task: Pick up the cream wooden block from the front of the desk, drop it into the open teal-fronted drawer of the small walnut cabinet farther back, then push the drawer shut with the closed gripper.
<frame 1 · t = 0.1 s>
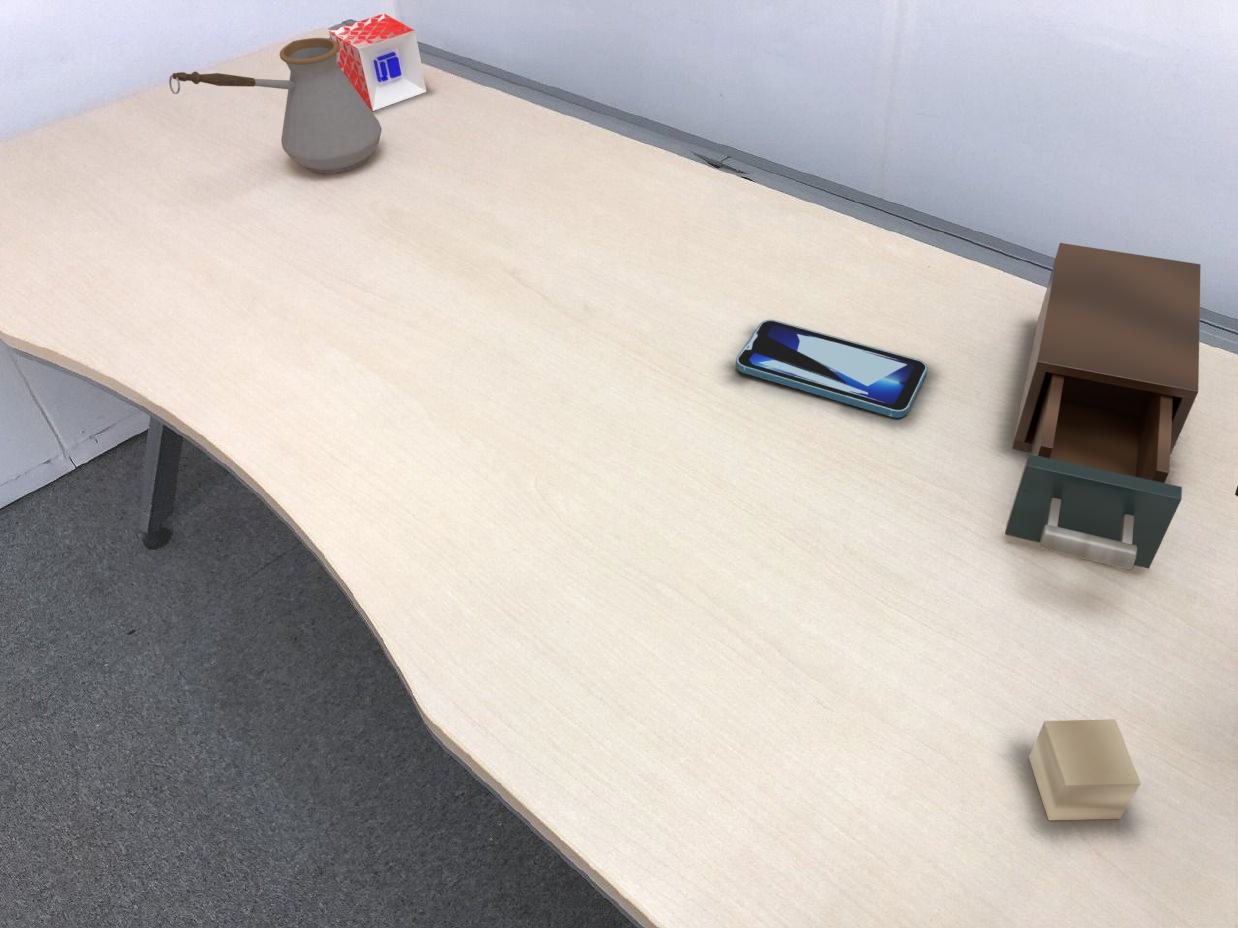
block: (1072, 787, 59), on the table
drawer: (1094, 463, 72), point 4 cm above the table, slide at 9.0 cm
coffee pot: (301, 174, 119), on the table
smartphone: (829, 372, 88), on the table
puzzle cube: (385, 93, 134), on the table
cabinet: (1092, 397, 84), on the table
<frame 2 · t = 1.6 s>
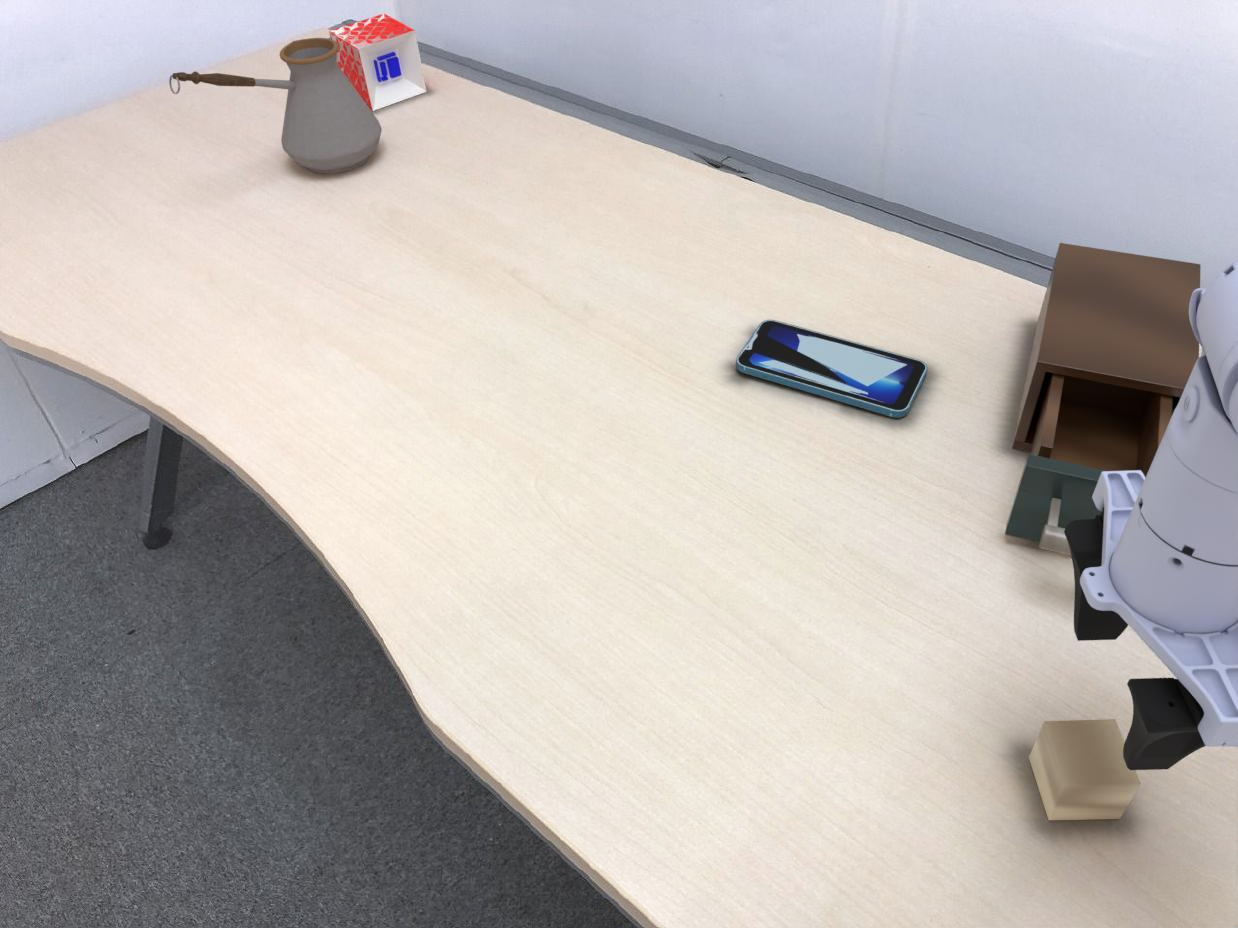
hand: (1119, 695, 53), 9 cm above the table, tool pointing down, fingers open, 7 cm apart
nothing on the table moved.
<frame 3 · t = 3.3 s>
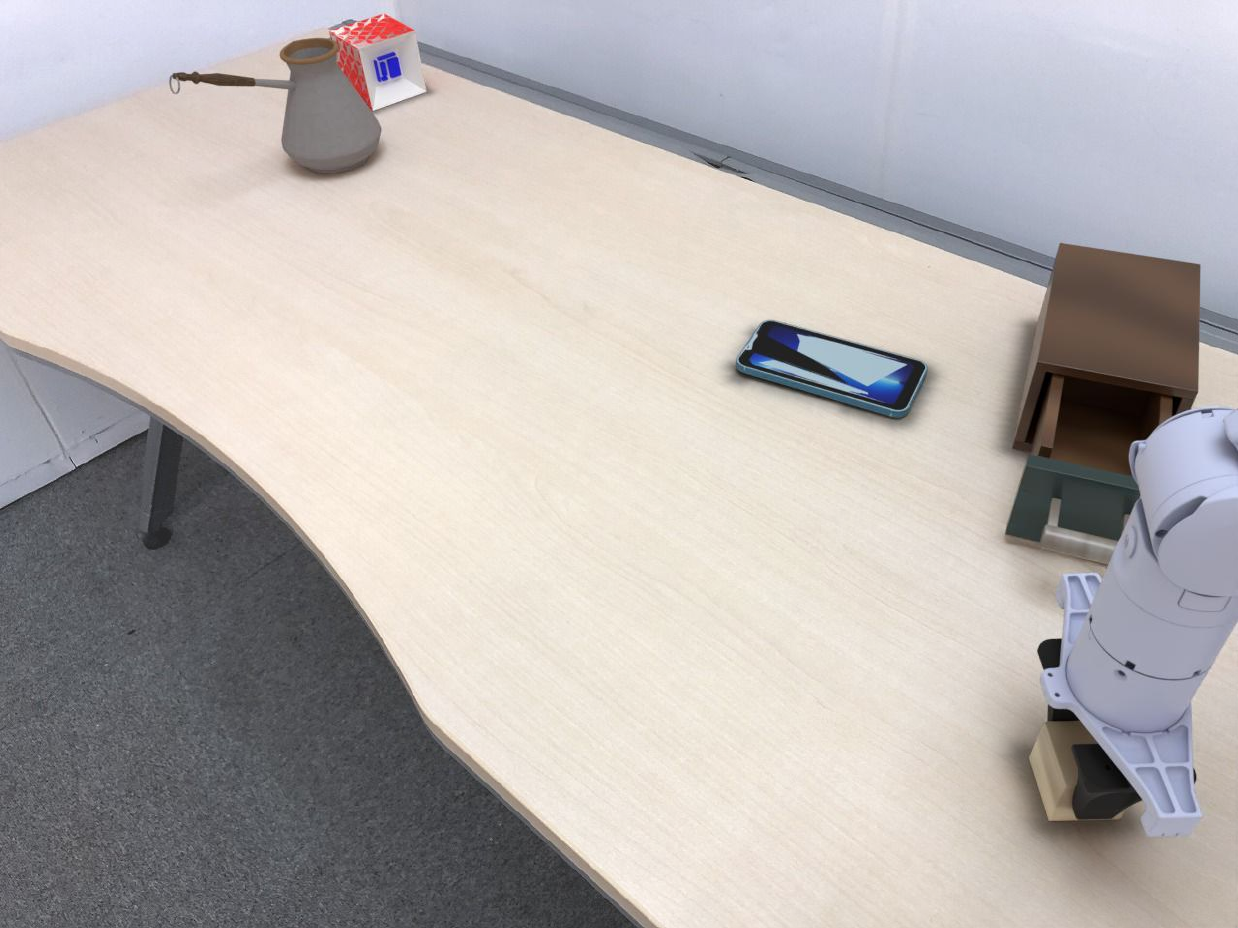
hand: (1079, 774, 58), 1 cm above the table, tool pointing down, fingers closed on block, 4 cm apart
block: (1073, 787, 59), on the table, touching gripper
everything else where it was.
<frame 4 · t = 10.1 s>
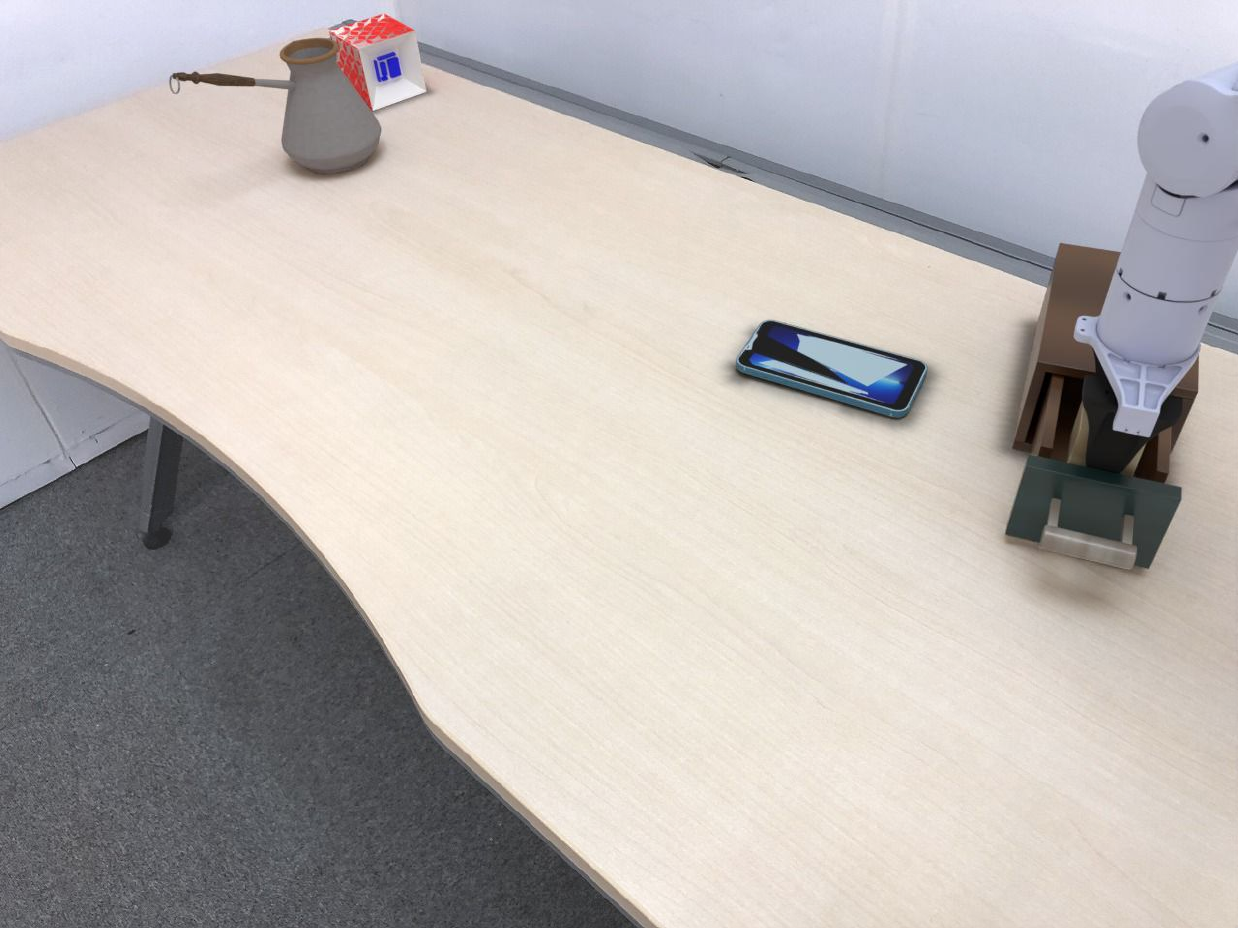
hand: (1105, 445, 69), 7 cm above the table, tool pointing down, fingers closed on block, 4 cm apart
block: (1098, 461, 70), point 6 cm above the table, touching gripper
everything else where it was.
when the fingers open (9 cm above the table, at t = 15.8 s): block drops 5 cm, resting on drawer.
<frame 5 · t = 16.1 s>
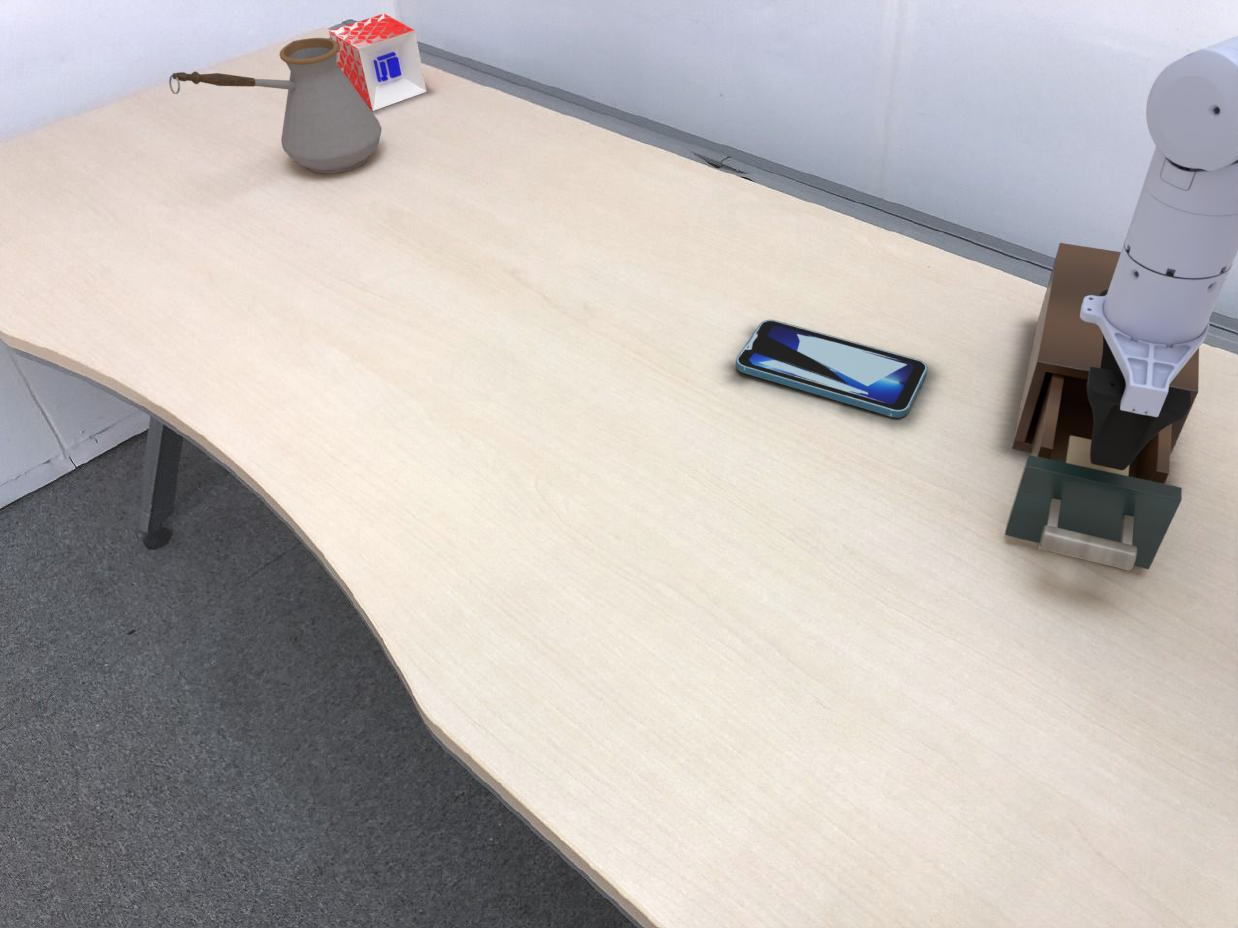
hand: (1111, 428, 68), 9 cm above the table, tool pointing down, fingers open, 6 cm apart
block: (1082, 500, 73), point 2 cm above the table, touching drawer
drawer: (1094, 463, 72), point 4 cm above the table, slide at 9.1 cm, touching block
everything else where it was.
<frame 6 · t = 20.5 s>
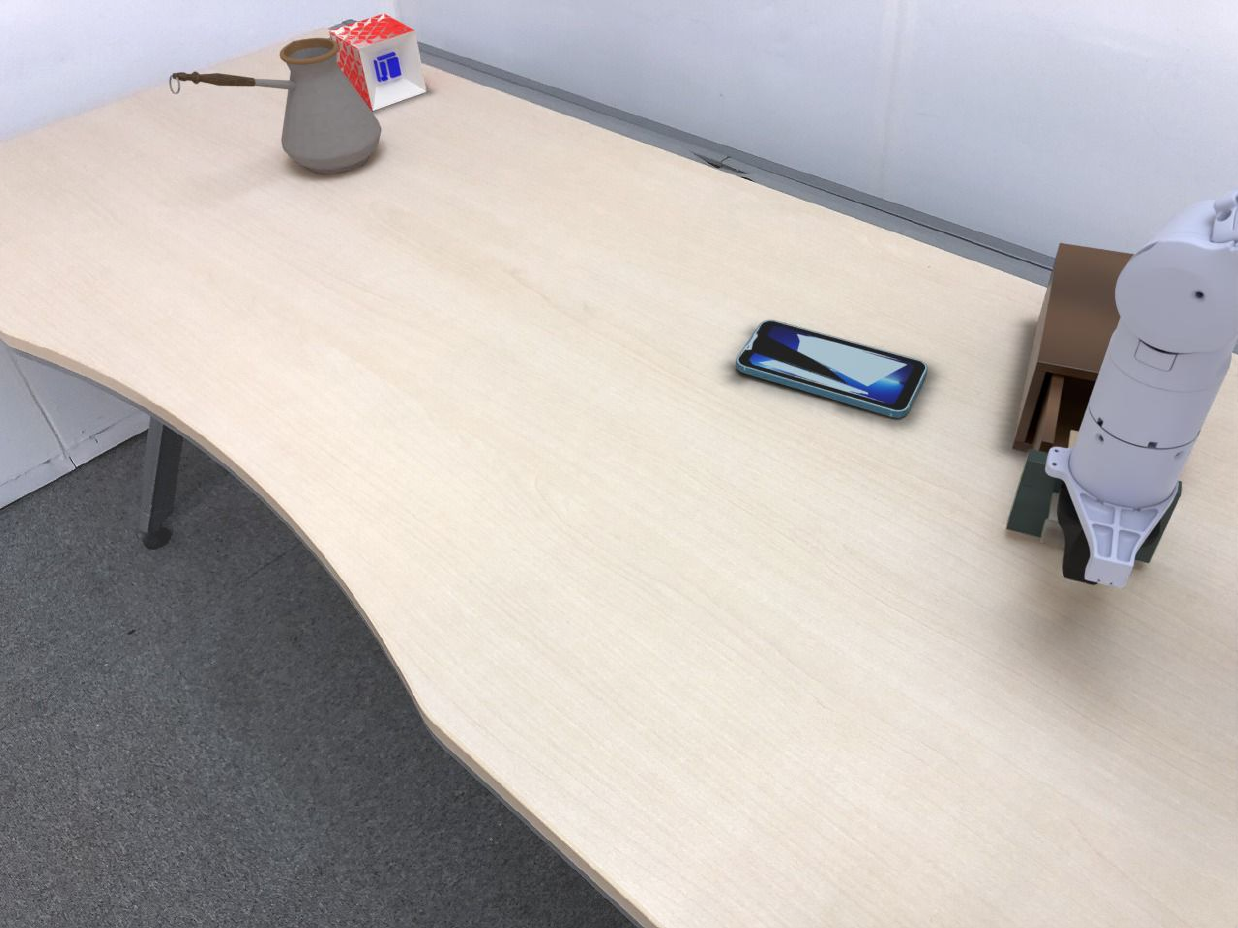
hand: (1080, 574, 66), 4 cm above the table, tool pointing down, fingers closed
drawer: (1095, 458, 72), point 4 cm above the table, slide at 8.5 cm, touching block, gripper
everything else where it was.
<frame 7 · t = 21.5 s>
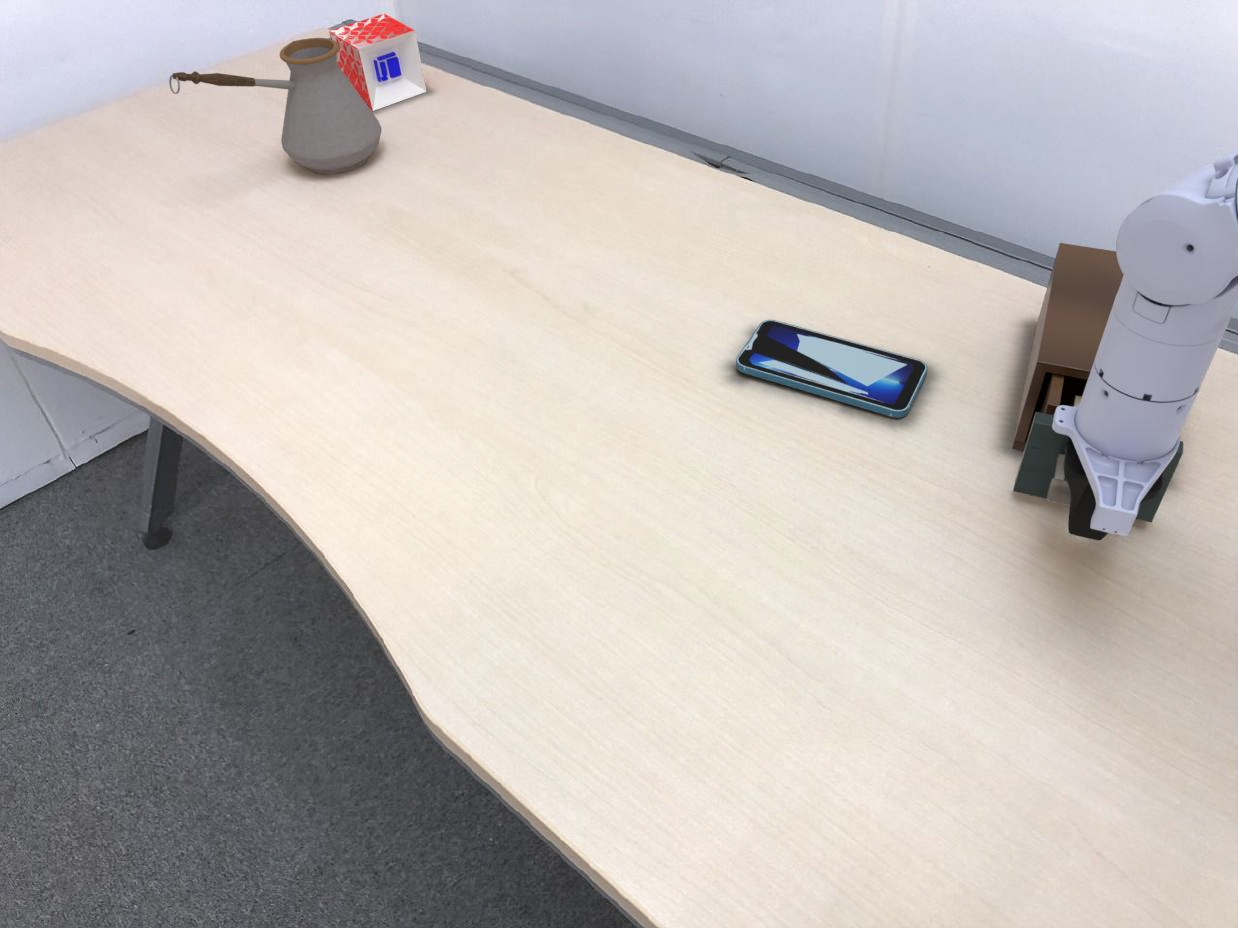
hand: (1085, 530, 68), 4 cm above the table, tool pointing down, fingers closed
block: (1088, 458, 76), point 2 cm above the table, touching drawer
drawer: (1099, 422, 75), point 4 cm above the table, slide at 4.5 cm, touching block, gripper
everything else where it was.
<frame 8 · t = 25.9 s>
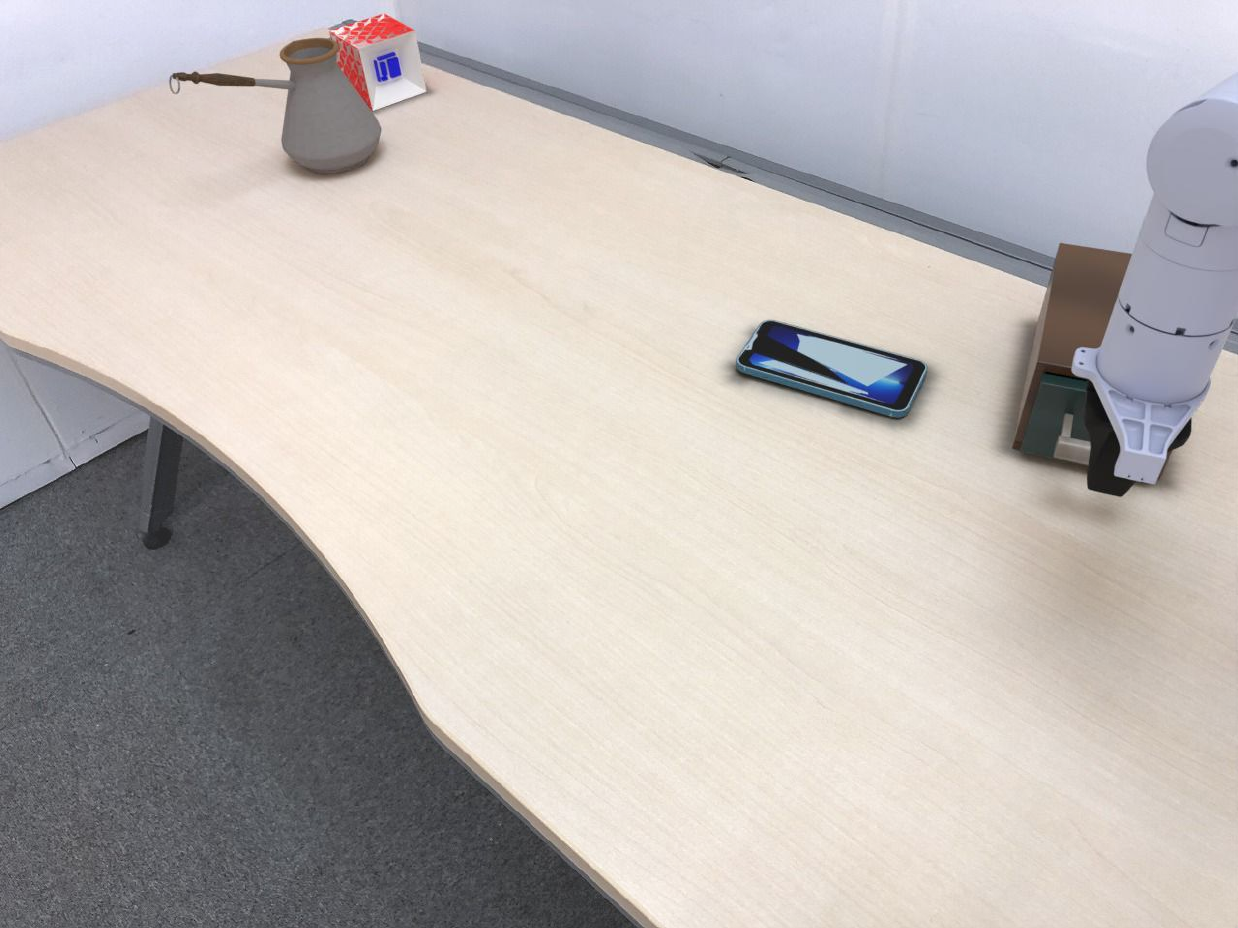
hand: (1105, 486, 64), 9 cm above the table, tool pointing down, fingers closed
block: (1092, 420, 79), point 2 cm above the table, touching drawer
drawer: (1103, 385, 78), point 4 cm above the table, slide at 0.0 cm, touching block, cabinet
everything else where it was.
at the end: block inside the target area in the cabinet (5.4 cm from its centre), point 2.0 cm above the cabinet's base; drawer slide at 0.0 cm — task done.
